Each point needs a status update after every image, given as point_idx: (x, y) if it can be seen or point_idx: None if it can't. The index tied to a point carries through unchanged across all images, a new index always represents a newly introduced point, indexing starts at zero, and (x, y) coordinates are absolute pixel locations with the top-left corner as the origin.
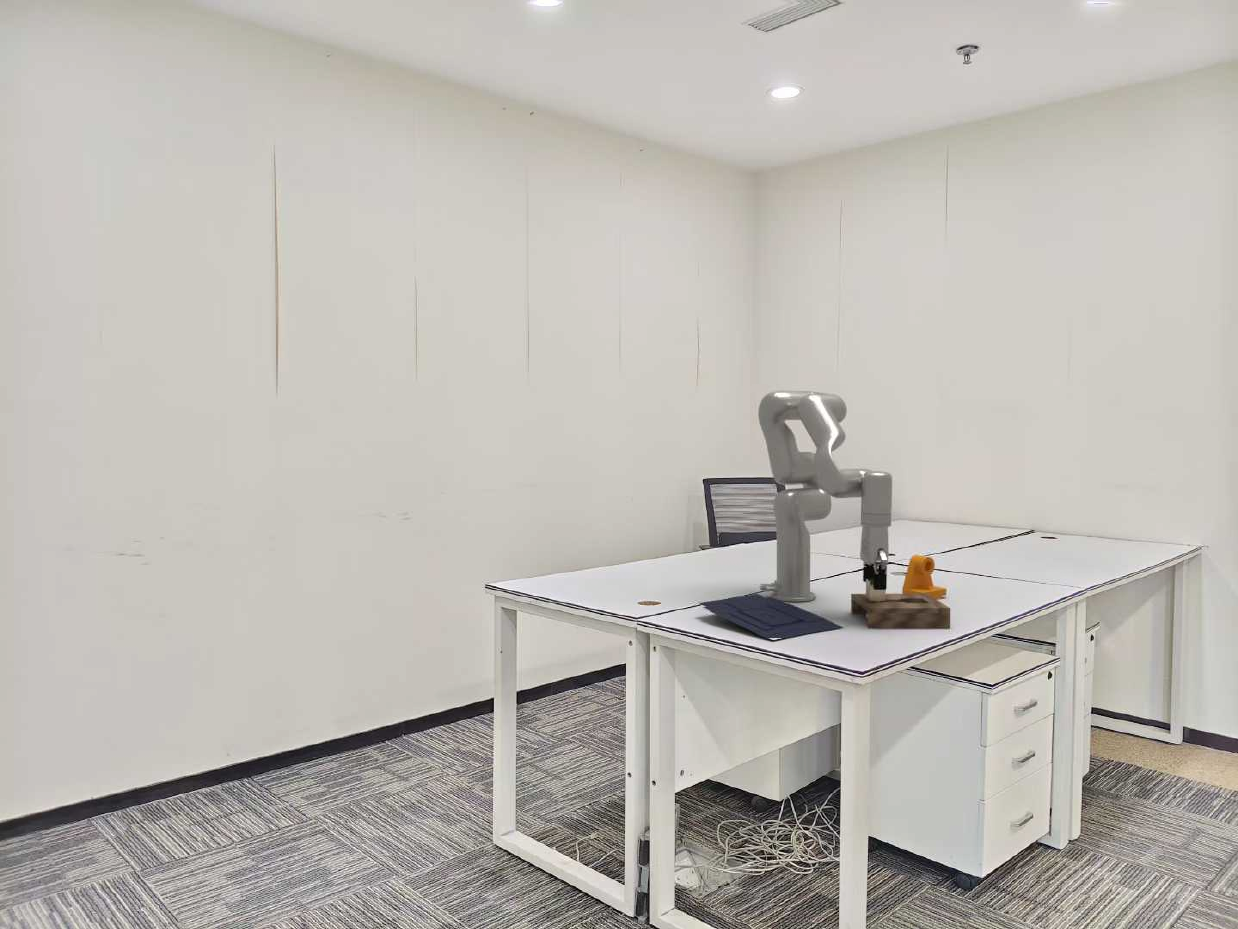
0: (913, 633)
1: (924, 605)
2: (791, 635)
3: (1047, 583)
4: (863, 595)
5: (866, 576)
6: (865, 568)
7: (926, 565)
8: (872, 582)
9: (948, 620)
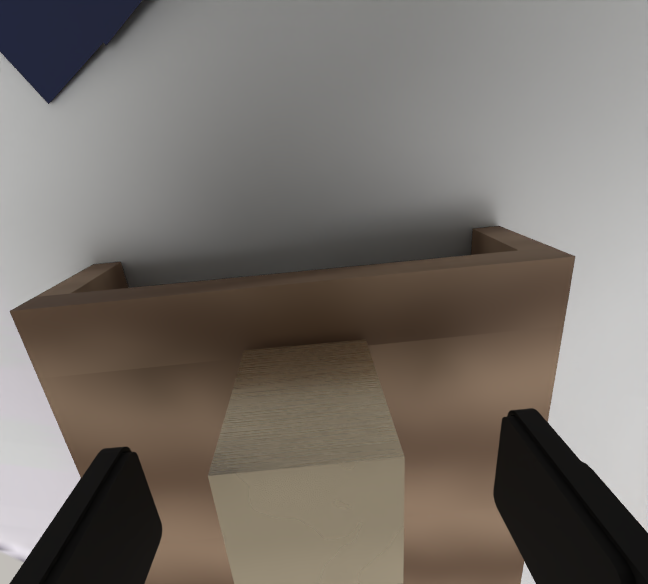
0: (52, 443)
1: None
2: None
3: None
4: (498, 337)
5: (534, 476)
6: (610, 575)
7: None
8: (217, 489)
9: None
